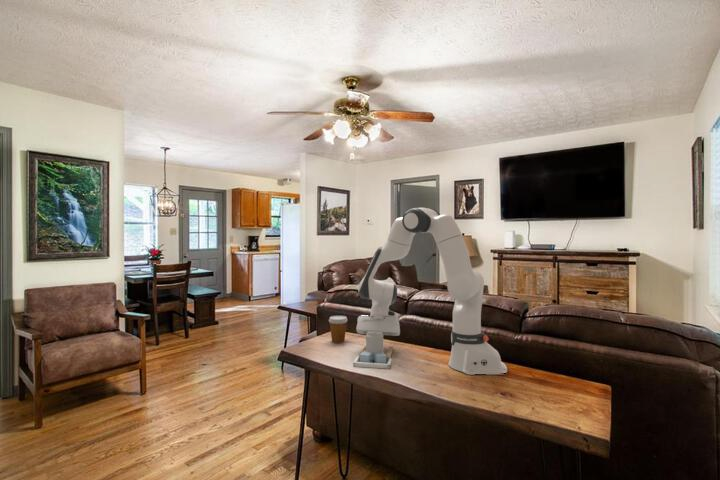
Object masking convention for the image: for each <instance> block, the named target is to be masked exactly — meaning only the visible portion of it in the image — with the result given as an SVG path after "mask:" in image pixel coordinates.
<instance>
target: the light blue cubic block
mask: <svg viewBox="0 0 720 480" xmlns="http://www.w3.org/2000/svg"><path fill="white" fill-rule="evenodd" d="M359 356H360V360H359V362H365V363H374V361H373V353H370V352H365V351H364V352H363V353H361V352H360V353H359Z"/></svg>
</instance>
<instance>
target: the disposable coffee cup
mask: <svg viewBox="0 0 720 480" xmlns="http://www.w3.org/2000/svg"><path fill="white" fill-rule="evenodd" d="M328 322H329V327H330V328H329V329H330V334H331V335H330V336H331V343H335V344H341V343H344V342H345V341H346V332H347V331H346V330H347V323H348V317H347V316H345V315H331V316H330V317H329V319H328Z"/></svg>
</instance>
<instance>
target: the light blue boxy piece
mask: <svg viewBox="0 0 720 480" xmlns="http://www.w3.org/2000/svg"><path fill="white" fill-rule="evenodd" d="M373 363H381V364H387V362H386V353H385V352H384V351H383V352H381V353H374V361H373Z"/></svg>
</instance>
